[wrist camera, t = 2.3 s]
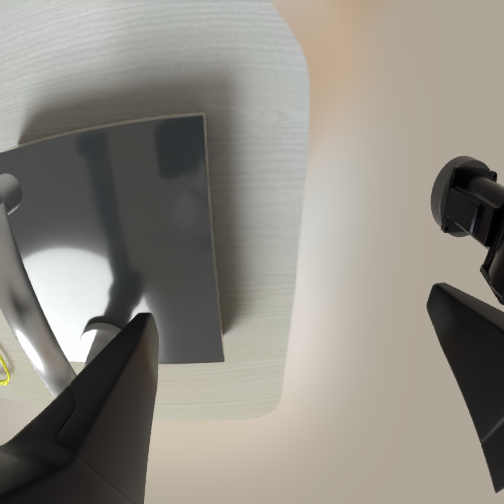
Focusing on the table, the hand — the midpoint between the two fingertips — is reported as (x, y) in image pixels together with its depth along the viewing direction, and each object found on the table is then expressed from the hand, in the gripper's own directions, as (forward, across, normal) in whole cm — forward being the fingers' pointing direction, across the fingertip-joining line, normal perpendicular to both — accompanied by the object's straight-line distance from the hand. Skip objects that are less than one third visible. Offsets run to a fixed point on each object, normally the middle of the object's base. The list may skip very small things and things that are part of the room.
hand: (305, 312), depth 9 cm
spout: (+5, +12, +4) cm, 14 cm away
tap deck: (+13, +10, +4) cm, 17 cm away
